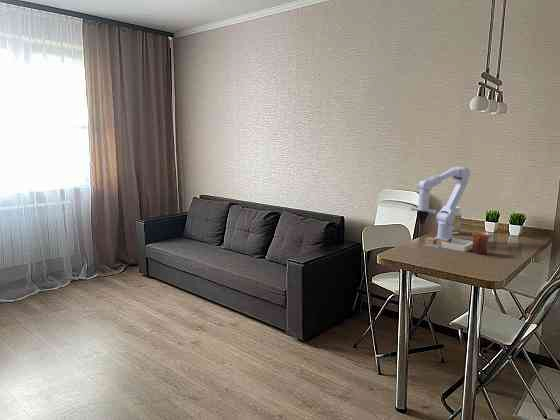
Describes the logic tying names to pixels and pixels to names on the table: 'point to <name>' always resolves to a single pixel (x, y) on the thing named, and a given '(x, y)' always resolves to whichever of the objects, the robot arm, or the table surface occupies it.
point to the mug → (480, 242)
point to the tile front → (441, 241)
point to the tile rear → (430, 240)
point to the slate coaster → (432, 245)
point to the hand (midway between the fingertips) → (422, 224)
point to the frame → (458, 247)
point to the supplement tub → (456, 221)
